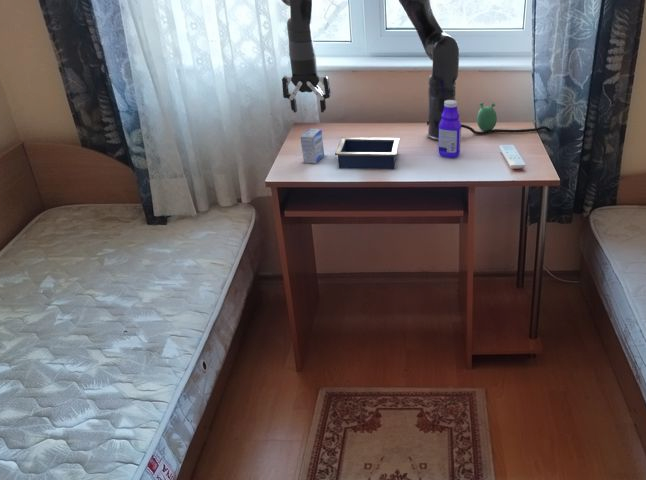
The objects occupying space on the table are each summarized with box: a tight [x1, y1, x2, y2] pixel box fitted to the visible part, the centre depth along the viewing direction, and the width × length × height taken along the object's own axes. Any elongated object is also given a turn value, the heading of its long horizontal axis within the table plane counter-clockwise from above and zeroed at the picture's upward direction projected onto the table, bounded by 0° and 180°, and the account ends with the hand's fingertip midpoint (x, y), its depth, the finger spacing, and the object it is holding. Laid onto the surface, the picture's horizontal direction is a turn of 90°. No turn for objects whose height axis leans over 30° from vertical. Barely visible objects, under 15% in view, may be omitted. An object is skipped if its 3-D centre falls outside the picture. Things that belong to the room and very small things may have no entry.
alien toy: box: [476, 101, 498, 132], centre depth 237 cm, size 7×8×10 cm
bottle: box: [437, 99, 462, 159], centre depth 214 cm, size 7×6×17 cm
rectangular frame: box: [334, 137, 400, 170], centre depth 213 cm, size 19×15×5 cm
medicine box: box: [300, 128, 325, 165], centre depth 214 cm, size 8×4×9 cm, turn 168°
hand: (309, 111), depth 207 cm, fingers open, 8 cm apart
